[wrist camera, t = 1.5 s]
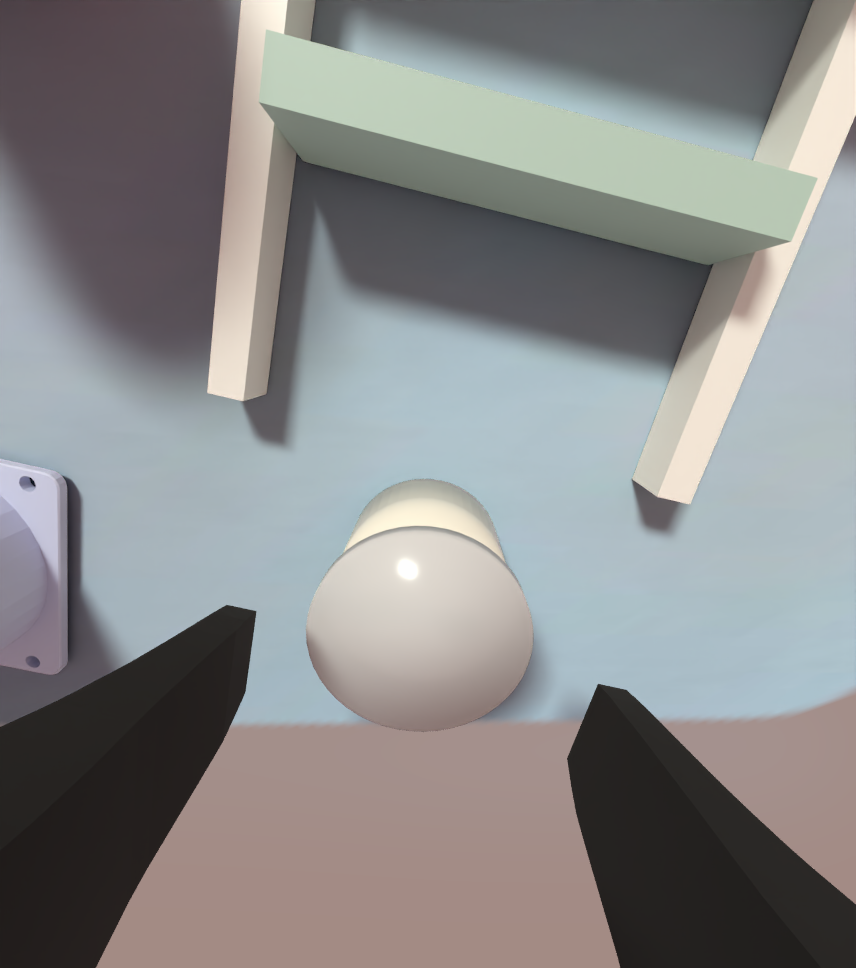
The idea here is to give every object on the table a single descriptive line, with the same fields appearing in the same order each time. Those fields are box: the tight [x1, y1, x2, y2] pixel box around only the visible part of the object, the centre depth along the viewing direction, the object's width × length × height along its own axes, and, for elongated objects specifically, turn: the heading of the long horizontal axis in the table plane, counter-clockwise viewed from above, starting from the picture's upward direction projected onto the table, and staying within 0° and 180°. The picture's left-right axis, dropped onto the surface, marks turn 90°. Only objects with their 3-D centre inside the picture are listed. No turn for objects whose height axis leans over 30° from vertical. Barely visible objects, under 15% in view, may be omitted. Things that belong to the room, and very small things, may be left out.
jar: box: [306, 479, 533, 732], centre depth 13 cm, size 5×5×5 cm
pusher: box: [259, 29, 818, 265], centre depth 11 cm, size 11×1×3 cm, turn 77°
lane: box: [207, 0, 856, 504], centre depth 11 cm, size 14×14×4 cm
